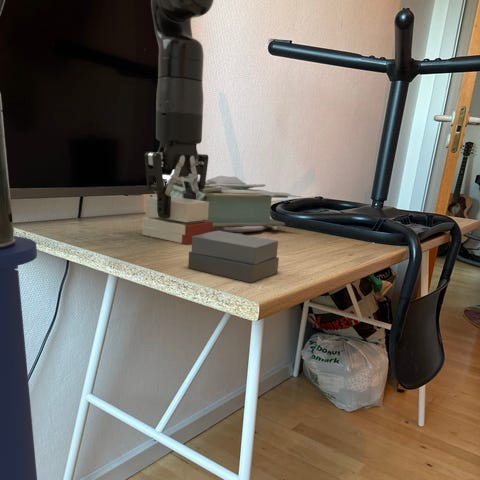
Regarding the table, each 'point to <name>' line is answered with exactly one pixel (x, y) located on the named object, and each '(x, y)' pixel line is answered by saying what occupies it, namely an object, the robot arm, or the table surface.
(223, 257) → the grey stack
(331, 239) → the table surface
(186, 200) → the white book
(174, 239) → the white stack
